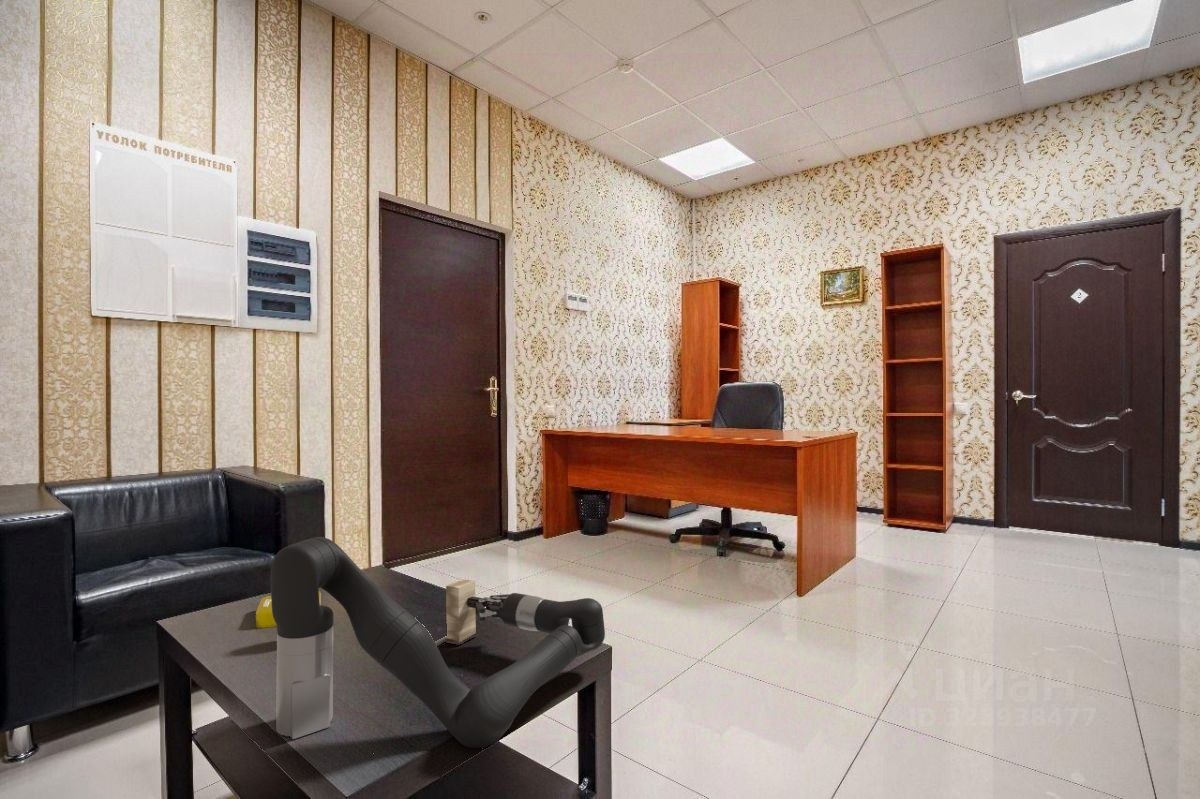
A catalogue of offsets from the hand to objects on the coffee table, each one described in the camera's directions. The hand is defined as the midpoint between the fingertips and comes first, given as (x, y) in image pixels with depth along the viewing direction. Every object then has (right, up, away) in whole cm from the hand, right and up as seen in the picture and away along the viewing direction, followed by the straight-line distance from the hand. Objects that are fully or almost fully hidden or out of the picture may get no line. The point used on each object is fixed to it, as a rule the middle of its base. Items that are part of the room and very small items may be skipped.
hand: (469, 601), depth 141 cm
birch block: (-2, -10, 0) cm, 10 cm away
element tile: (-53, -10, +16) cm, 57 cm away
